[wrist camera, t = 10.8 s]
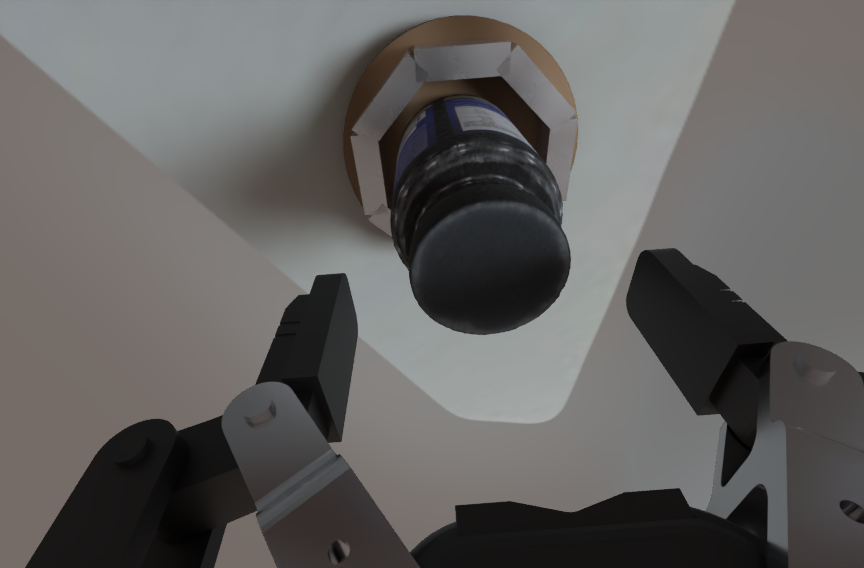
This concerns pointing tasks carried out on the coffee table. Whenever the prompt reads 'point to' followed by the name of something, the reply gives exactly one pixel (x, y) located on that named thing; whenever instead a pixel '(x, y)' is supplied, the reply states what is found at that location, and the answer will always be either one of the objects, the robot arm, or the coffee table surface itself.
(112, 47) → the coffee table surface
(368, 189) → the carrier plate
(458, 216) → the pill bottle
